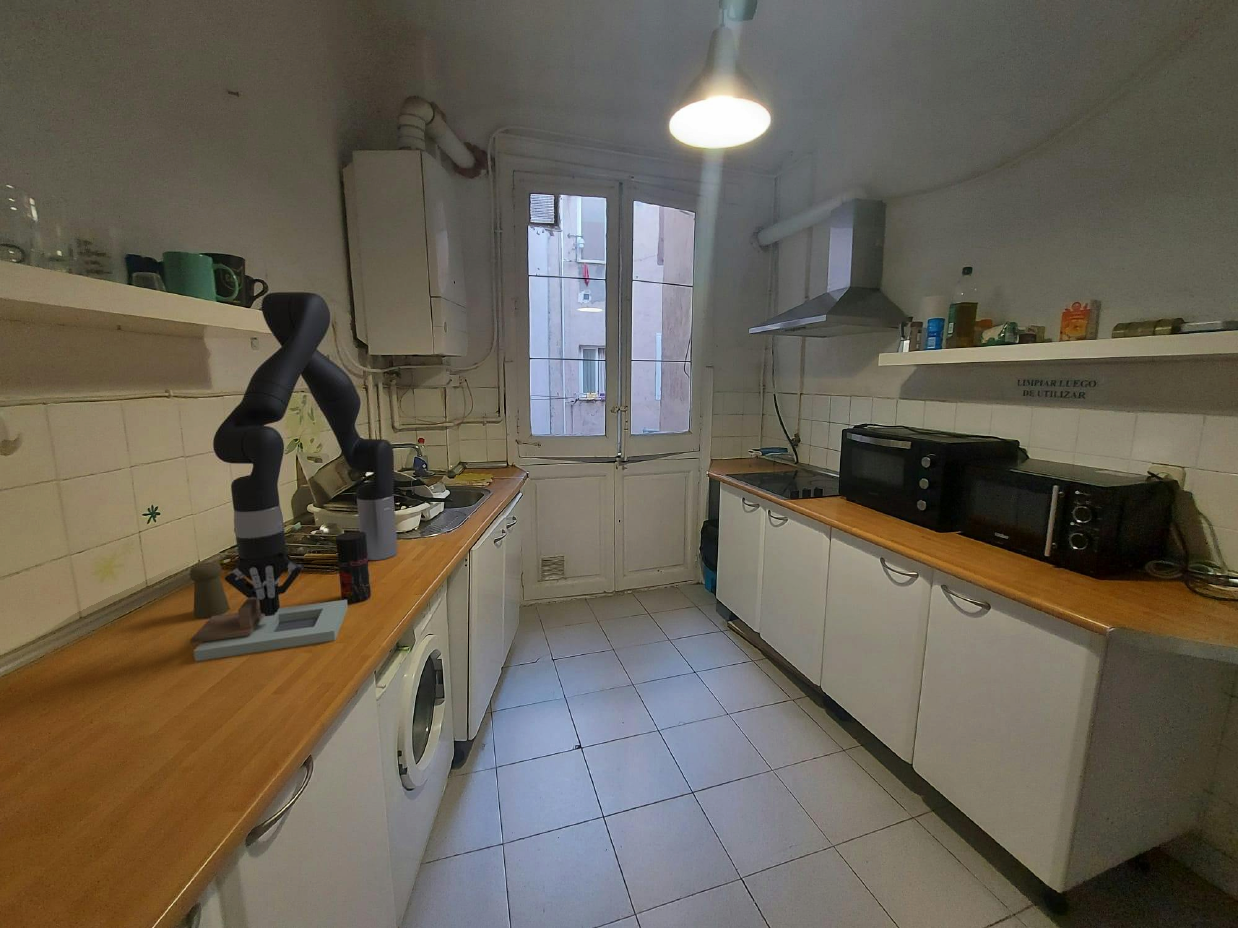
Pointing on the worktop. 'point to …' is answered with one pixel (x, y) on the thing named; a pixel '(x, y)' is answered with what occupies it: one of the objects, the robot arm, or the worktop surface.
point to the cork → (208, 591)
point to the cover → (231, 623)
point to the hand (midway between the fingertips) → (270, 614)
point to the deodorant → (353, 567)
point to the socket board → (281, 631)
